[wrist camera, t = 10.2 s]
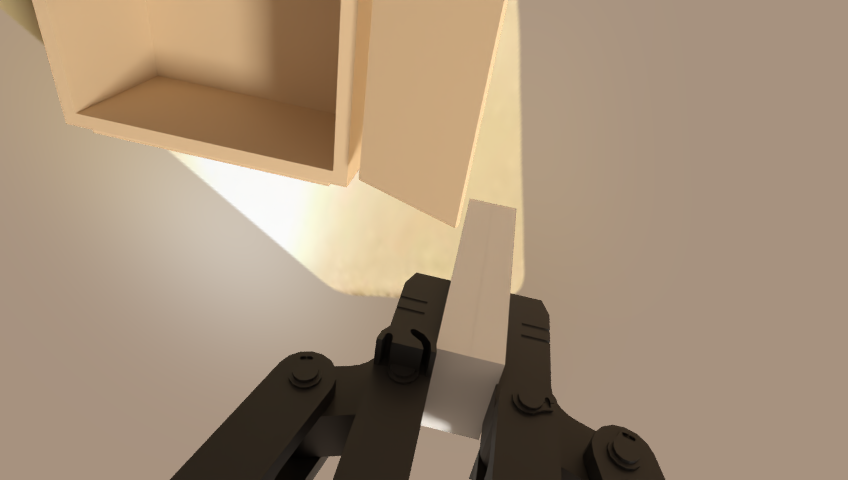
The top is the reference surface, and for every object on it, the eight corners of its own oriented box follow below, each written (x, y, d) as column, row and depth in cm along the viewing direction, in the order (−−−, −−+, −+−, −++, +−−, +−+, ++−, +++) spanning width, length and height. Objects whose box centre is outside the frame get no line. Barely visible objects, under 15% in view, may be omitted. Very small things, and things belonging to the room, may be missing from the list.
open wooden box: (148, 88, 45) (60, 129, 37) (102, -174, 35) (-33, -196, 26) (383, 139, 43) (346, 194, 35) (410, -119, 33) (366, -126, 25)
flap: (455, 227, 30) (459, 224, 30) (512, -39, 22) (517, -39, 22) (358, 179, 33) (363, 177, 33) (378, -70, 25) (384, -70, 25)
